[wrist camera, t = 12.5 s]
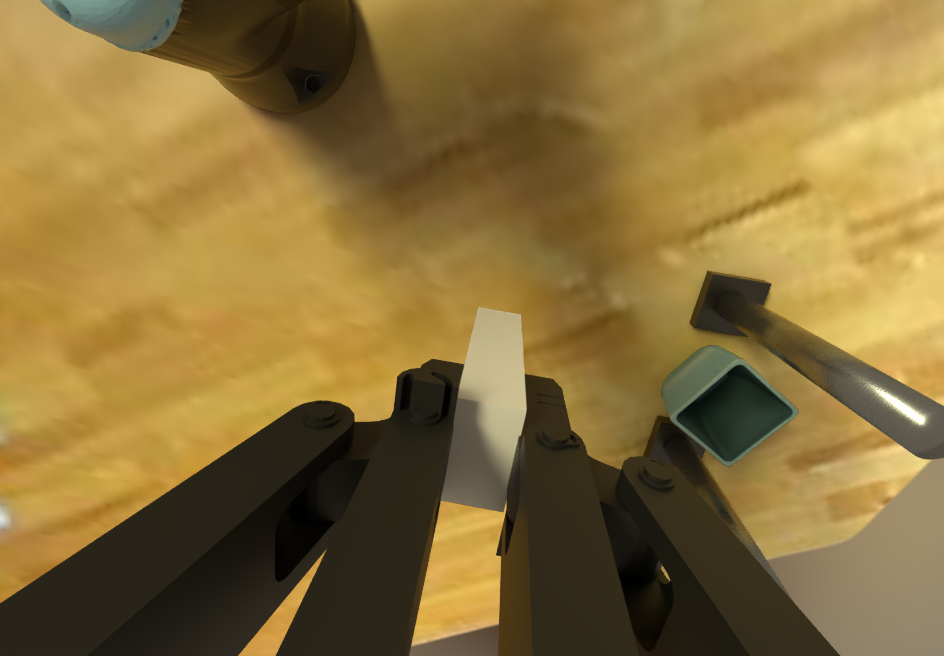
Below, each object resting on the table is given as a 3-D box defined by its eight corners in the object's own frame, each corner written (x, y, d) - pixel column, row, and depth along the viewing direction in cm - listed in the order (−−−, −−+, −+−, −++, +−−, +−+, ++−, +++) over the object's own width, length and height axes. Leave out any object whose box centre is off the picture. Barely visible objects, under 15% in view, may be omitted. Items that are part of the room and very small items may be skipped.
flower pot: (755, 372, 51) (803, 413, 43) (694, 422, 54) (728, 469, 46) (702, 325, 50) (741, 356, 42) (642, 378, 53) (667, 418, 44)
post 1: (657, 415, 54) (776, 619, 30) (707, 424, 54) (867, 636, 30) (643, 456, 56) (743, 678, 32) (690, 465, 56) (828, 695, 32)
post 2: (707, 270, 48) (909, 377, 24) (763, 280, 48) (1025, 398, 23) (689, 323, 50) (857, 471, 26) (743, 332, 50) (964, 490, 26)
